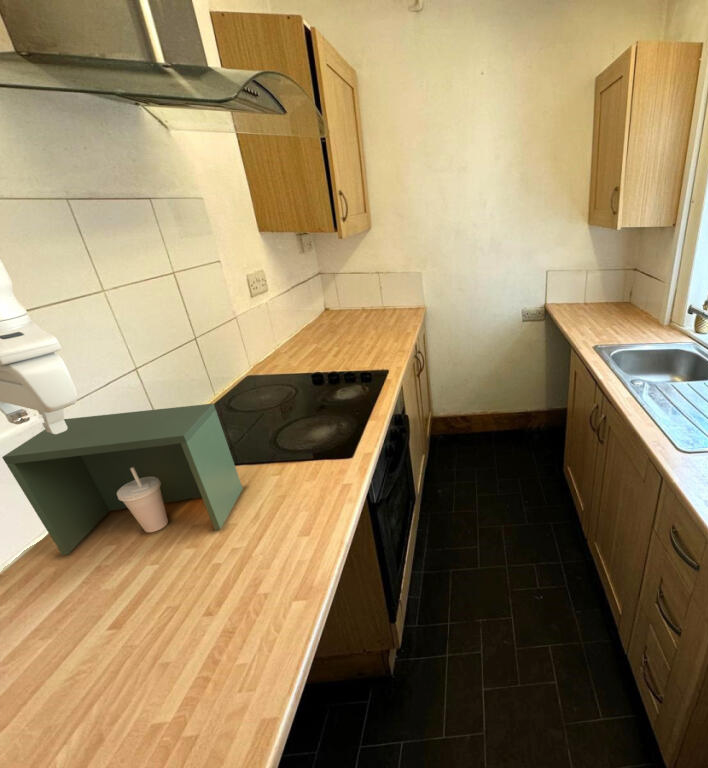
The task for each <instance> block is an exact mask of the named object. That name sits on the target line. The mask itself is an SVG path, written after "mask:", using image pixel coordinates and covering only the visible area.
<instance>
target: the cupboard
mask: <svg viewBox="0 0 708 768" xmlns="http://www.w3.org/2000/svg"><path fill="white" fill-rule="evenodd" d="M64 421H65V423H66V425H67V427H68V429H67V430H66V431H64V432H61V433H59V434H51V433H48V432H46V429H45V428H44V429H43V430H42V431H40V432H39V433H37V434H36V435H33V436H31V438H29V439H28V440H26V441H24V442H23V443H22V444H20V445H19V446H17V447H15V448H14V449H12V450H11V451H9V452H8V453H6V454H5V455H3V456H2V457H1V458H2V459H3V461H4V463H5V464H6V466H7V468H8V469H9V471H10V473H11V474H12V476H13V478H14V479H15V481H16V482H17V484H18V486H19V487H20V489H21V491H22V493H23V494H24V496H25V497H26V498H27V501H28V502H29V504H30V505H31V506H32V508H33V511H34V512H35V513H36V515H37V517H38V519H39V521H40V522H41V523H42V525H43V526H44V528H45V529H46V531H47V533H48V535H49V536H50V538H51V539H52V542H53V543H54V544H55V546H56V547H57V549H58V551H59V553H60V554H61V555H62V556H65V555H69V554H70V553H71V552H72V551H73V550H74V549H75V548H76V547H77V546H78V545H79V544H80V543H81V542H82V541H83V540H84V538H85V537H86V536H87V535H88V534H89V533H90V532H91V531H92V530H93V529H94V528H95V527H96V526H97V524H98V523H100V521H101V520H102V519H103V518H105V516H106V515H107V514H108V513H109V512H111V511H117V510H123V509H128V508H127V506H126V505H125V504H124V502H123V501H120V500H119V499H118V496H117V491H118V490H119V489H120V488H121V487H122V486H124V485H125V484H127V483H129V482H131V481H134V480H135V478H134V476H133V474H132V472H131V470H130V468H131V467H134V469H135V471H136V473H137V475H138V477H139V478H143V477H157V478H158V479H159V481H160V482H161V485H160V490H161V494H162V498H163V502H164V504H166V503H172V502H179V501H185V500H193V499H198V498H199V499H200V498H202V501H203V503H204V506H205V508H206V511H207V514H208V516H209V518H210V521H211V524H212V526H213V528H214V531H219V530H221V529H222V528H223V526H224V525H225V522H226V521H227V519H228V517H229V515H230V514H231V511H232V509H233V508H234V505H235V504H236V502H237V500H238V498H239V497H240V495H241V493H242V491H243V489H244V488H243V485H242V482H241V479H240V477H239V474H238V471H237V468H236V465H235V462H234V460H233V456H232V453H231V450H230V448H229V445H228V441H227V439H226V436H225V433H224V430H223V427H222V424H221V421H220V418H219V416H218V413H217V409H216V407H215V404H214V403H204V404H197V405H196V404H195V405H185V406H176V407H167V408H157V409H150V410H149V409H148V410H138V411H129V412H118V413H110V414H100V415H91V416H81V417H72V418H64Z"/></svg>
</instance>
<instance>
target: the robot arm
mask: <svg viewBox="0 0 708 768" xmlns="http://www.w3.org/2000/svg"><path fill="white" fill-rule="evenodd" d="M61 350H62V346H61V344H60V342H59V340H58V339H57V337H56V336H54V335H52V334H51V333H49V332H47V331H45V330H44V329H42V328H41V327H39V326H38V325H37V324H36V323H35V322H33V321H32V319H31V317H30V315H29V313H28V311H27V309H26V307H24V306H23V305H22V304H21V302H19V300H18V299H17V298H16V296H15V294H14V288H13V280H12V279H11V277H10V275H9V273H8V271H7V269H6V267H5V264H4V263H3V261H2V259H0V412H1V413H2V414H3V415H4V416H5V418H6V419H7V421H8V422H9V423H10V424H13V425H21V424H23V423H27V422H29V421H30V420H31V417H30V416H29V415H28V414H29V413H28V412H27V410H26V409H30V410H34V411H37V412H38V414H39V415H40V416H42V419H43V421H44V422H43V423H42V426H43V428H44V430H45V429H46V432H48V433H51V434H59V433H61V432H64V431H66V430H67V429H68V427H67V425H66V423H65V421H64V419H65V409H66V408H68V407H71V406H73V405H75V404H77V402H78V392H77V388H76V386H75V384H74V381H73V379H72V376H71V374H70V372H69V370H68V369H69V368H68V367H67V365H66V363H65V361H64V360H63V359H62V357H61V356H60V355H59V354H58V353H57V352H60V351H61ZM23 408H25V409H23Z"/></svg>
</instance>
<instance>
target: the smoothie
mask: <svg viewBox="0 0 708 768" xmlns="http://www.w3.org/2000/svg"><path fill="white" fill-rule="evenodd" d="M130 470H131V472H132V474H133V476H134V478H135V480H134V481H131V482H129V483H127V484H125V485H124V486H122V487H121V488H120V489H119V490H118V491H117V496H118V499H119V500H120V501H123V502H124V504H125V505H126V506H127V508H126V509H128V510H129V512H130V513H131V514H132V515H133V517H134V518H135V520H136V521H137V522H138V524H139V525H140V527H142V529H143V530H144V532H146V533H153V532H157V531H159V530H161V529H164V528H165V527H166V526H167V525H168V523H169V519H168V515H167V511H166V507H165V503H164V502H163V498H162V494H161V490H160V485H161V482H160V481H159V479H158V478H157V477H143V478H139V477H138V475H137V473H136V471H135V469H134V467H131V468H130Z"/></svg>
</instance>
